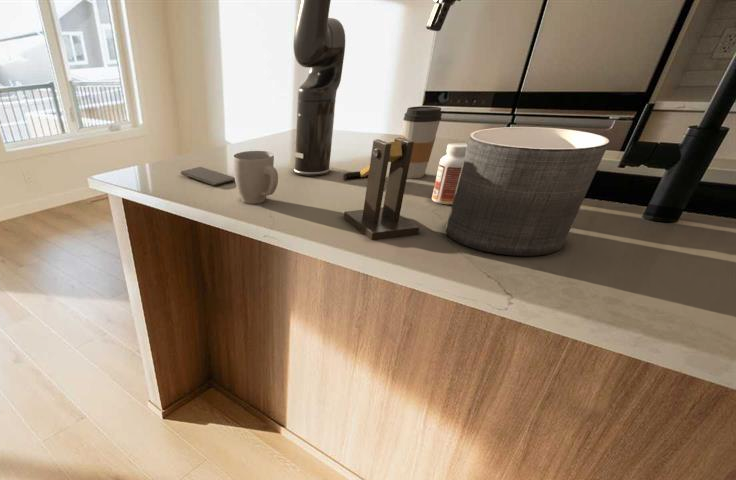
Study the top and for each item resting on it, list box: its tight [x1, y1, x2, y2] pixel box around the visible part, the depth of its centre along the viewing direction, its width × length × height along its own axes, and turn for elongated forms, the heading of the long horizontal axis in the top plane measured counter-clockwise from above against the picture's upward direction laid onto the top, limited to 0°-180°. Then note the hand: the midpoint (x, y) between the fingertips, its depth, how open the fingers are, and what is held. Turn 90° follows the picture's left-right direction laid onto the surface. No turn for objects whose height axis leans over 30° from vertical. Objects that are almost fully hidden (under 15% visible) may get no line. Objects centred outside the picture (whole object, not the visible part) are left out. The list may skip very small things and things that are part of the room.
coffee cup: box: [401, 105, 443, 179], centre depth 103 cm, size 8×8×15 cm
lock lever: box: [342, 141, 402, 182], centre depth 78 cm, size 14×7×2 cm, turn 10°
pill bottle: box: [431, 142, 468, 206], centre depth 87 cm, size 6×6×11 cm
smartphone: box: [180, 166, 235, 186], centre depth 114 cm, size 7×1×16 cm
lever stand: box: [343, 136, 421, 241], centre depth 76 cm, size 12×9×15 cm
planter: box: [445, 126, 610, 257], centre depth 69 cm, size 18×18×16 cm
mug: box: [232, 150, 279, 205], centre depth 93 cm, size 12×9×10 cm
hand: (432, 30), depth 76 cm, fingers closed
